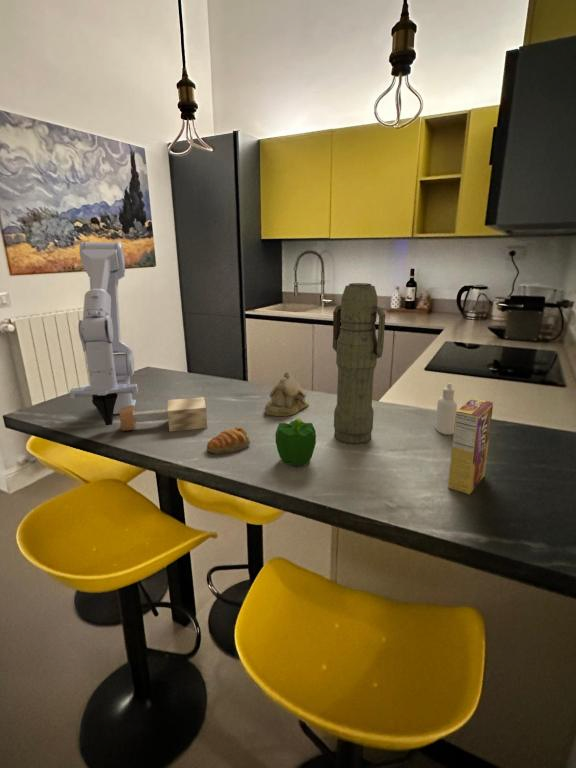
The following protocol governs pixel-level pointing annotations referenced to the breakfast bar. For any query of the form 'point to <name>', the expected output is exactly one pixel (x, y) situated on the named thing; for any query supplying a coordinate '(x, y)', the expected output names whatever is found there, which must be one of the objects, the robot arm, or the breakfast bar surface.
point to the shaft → (139, 416)
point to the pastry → (229, 441)
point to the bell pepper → (295, 442)
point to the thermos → (356, 361)
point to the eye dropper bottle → (446, 411)
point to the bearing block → (187, 414)
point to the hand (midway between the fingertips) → (109, 423)
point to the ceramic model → (286, 397)
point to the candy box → (470, 445)
